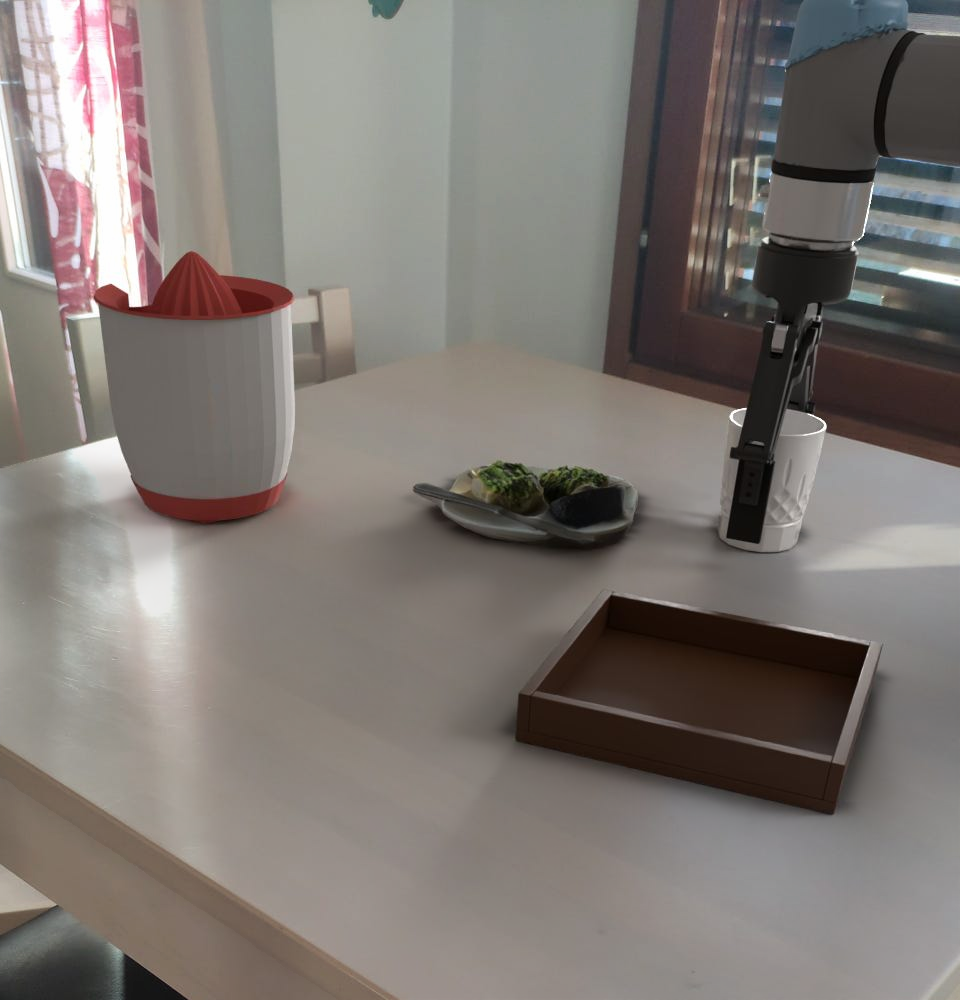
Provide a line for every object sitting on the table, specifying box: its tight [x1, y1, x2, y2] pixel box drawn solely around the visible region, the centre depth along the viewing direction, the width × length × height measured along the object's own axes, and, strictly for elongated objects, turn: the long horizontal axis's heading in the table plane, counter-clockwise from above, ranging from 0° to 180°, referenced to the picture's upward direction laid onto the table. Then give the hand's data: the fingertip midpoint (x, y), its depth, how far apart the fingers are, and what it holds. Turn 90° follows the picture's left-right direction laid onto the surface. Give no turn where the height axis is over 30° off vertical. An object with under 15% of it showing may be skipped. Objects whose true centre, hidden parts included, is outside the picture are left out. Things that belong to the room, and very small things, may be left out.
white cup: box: [717, 407, 828, 553], centre depth 105 cm, size 8×8×10 cm
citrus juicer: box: [93, 250, 296, 525], centre depth 104 cm, size 16×17×20 cm
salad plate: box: [412, 460, 639, 551], centre depth 109 cm, size 19×18×5 cm
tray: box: [514, 588, 884, 815], centre depth 81 cm, size 20×18×3 cm
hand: (759, 513), depth 107 cm, fingers open, 13 cm apart
